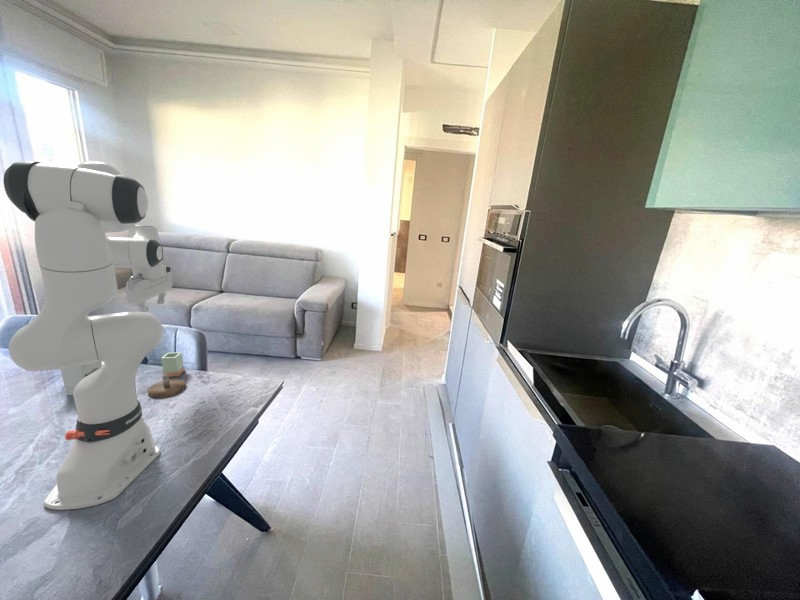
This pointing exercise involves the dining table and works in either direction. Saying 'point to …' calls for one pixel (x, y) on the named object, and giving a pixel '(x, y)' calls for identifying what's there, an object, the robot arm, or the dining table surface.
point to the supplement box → (77, 375)
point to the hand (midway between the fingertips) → (153, 307)
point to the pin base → (166, 387)
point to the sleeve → (172, 364)
